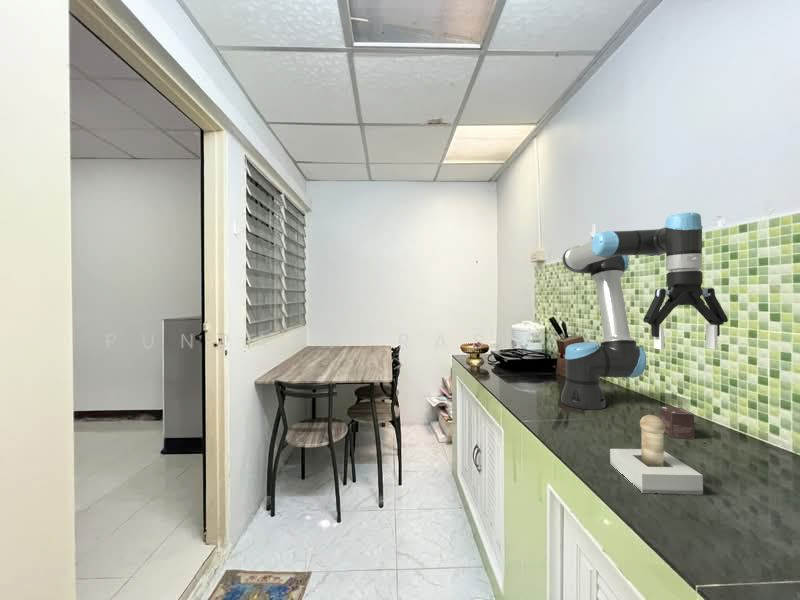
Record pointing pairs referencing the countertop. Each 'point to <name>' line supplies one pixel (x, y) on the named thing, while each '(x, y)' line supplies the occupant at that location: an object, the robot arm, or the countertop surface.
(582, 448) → the countertop surface
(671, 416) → the box
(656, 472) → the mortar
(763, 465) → the countertop surface
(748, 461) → the countertop surface
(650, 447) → the pestle
